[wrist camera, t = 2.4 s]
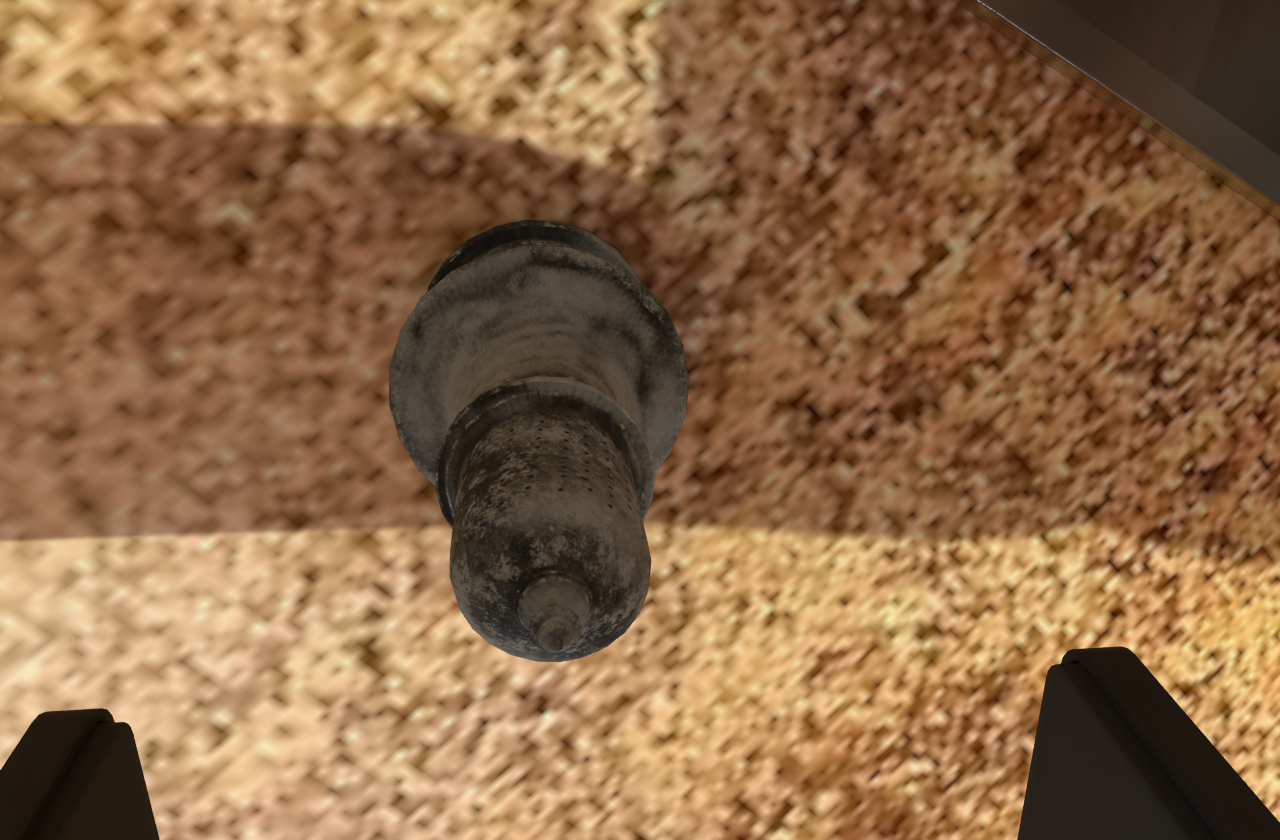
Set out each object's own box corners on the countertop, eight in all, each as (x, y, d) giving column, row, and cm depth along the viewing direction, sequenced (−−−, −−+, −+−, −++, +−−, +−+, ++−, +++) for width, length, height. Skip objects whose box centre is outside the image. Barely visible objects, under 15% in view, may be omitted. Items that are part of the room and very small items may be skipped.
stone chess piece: (573, 152, 22) (628, 332, 12) (713, 366, 25) (869, 686, 14) (350, 302, 23) (204, 604, 12) (506, 496, 26) (499, 897, 15)
